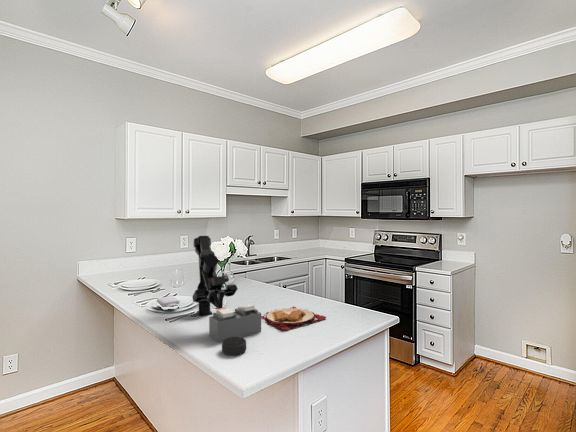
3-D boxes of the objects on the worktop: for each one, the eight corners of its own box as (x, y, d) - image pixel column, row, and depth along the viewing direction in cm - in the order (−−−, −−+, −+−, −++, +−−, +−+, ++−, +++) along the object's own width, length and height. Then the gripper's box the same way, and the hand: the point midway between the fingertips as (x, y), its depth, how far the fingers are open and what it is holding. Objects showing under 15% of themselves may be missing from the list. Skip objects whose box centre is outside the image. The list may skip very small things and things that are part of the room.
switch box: (209, 336, 143) (209, 313, 143) (251, 326, 155) (251, 305, 155) (217, 342, 137) (217, 318, 136) (261, 331, 148) (261, 309, 148)
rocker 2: (238, 311, 149) (237, 307, 150) (247, 309, 152) (246, 305, 152) (245, 311, 144) (245, 307, 145) (254, 309, 147) (254, 305, 147)
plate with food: (327, 321, 165) (327, 313, 165) (283, 332, 148) (283, 323, 148) (293, 309, 184) (293, 302, 184) (251, 318, 167) (251, 310, 167)
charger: (165, 314, 171) (156, 307, 183) (184, 311, 177) (174, 304, 189) (165, 305, 171) (156, 298, 183) (184, 302, 177) (174, 295, 189)
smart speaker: (237, 344, 135) (237, 334, 135) (251, 352, 128) (251, 341, 128) (217, 350, 129) (217, 340, 129) (230, 358, 122) (230, 347, 122)
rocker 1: (216, 312, 144) (216, 308, 144) (226, 310, 146) (226, 307, 146) (223, 318, 139) (223, 314, 138) (233, 316, 141) (233, 312, 141)
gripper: (195, 270, 143) (205, 304, 135) (236, 266, 154) (247, 297, 146) (188, 285, 150) (197, 318, 142) (227, 280, 161) (238, 310, 153)
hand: (221, 310), depth 145 cm, fingers closed, pressing on rocker 1
